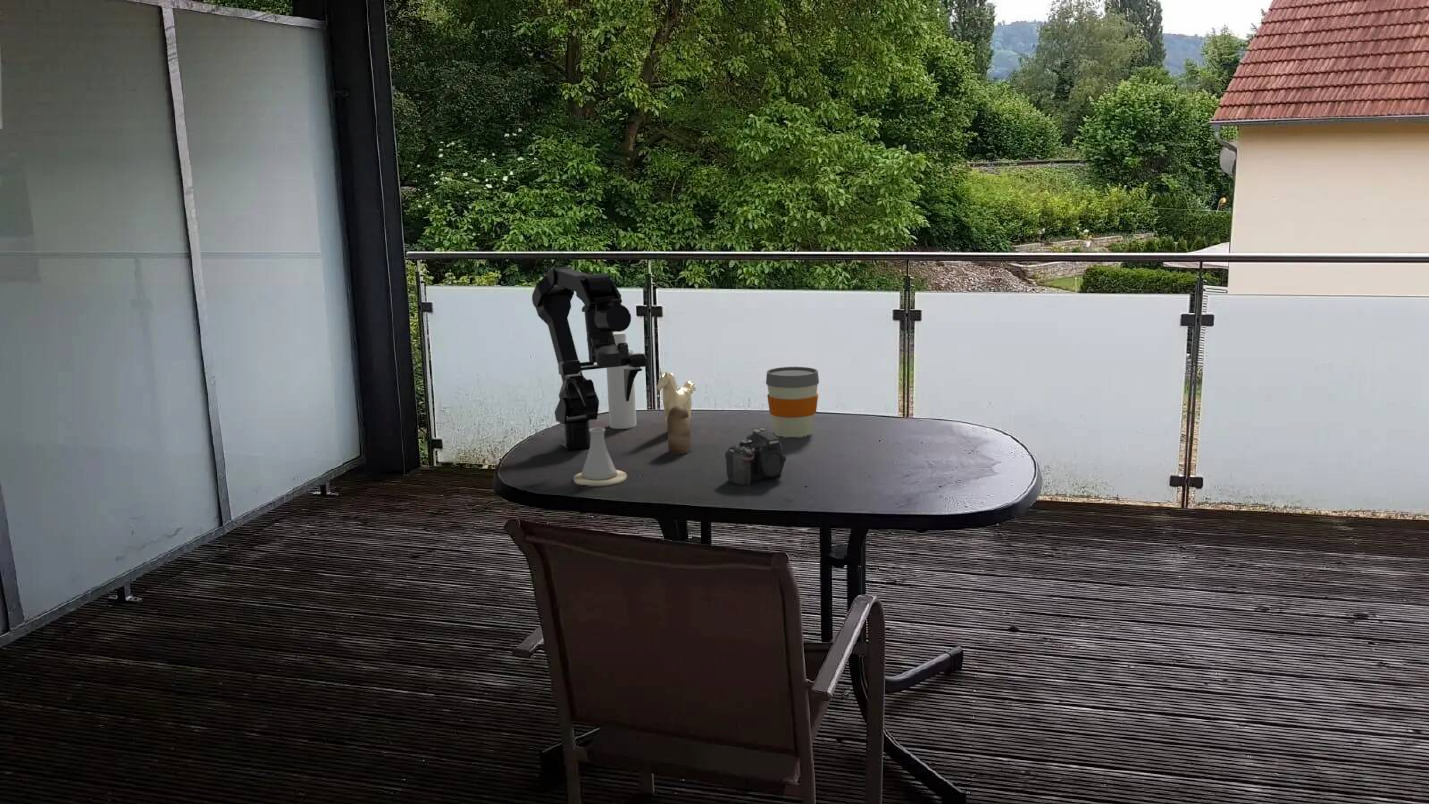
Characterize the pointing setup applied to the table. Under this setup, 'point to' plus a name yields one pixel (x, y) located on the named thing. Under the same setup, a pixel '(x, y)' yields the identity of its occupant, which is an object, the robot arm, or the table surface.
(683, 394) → the unicorn
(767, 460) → the camera
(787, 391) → the reusable coffee cup
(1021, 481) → the table surface
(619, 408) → the spray bottle
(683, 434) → the pepper shaker
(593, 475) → the flask
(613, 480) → the coaster
